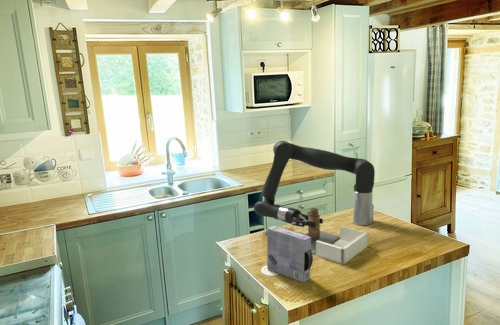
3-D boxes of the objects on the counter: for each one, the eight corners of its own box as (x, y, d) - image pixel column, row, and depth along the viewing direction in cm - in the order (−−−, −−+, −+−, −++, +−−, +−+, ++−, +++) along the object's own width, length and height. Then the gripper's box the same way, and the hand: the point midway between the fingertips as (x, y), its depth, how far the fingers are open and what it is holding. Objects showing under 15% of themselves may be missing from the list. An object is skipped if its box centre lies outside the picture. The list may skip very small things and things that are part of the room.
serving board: (314, 231, 186) (314, 229, 186) (339, 238, 176) (339, 236, 176) (287, 247, 170) (287, 244, 170) (313, 255, 161) (313, 253, 161)
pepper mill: (315, 234, 176) (315, 206, 173) (322, 238, 172) (322, 209, 169) (306, 237, 174) (305, 208, 171) (312, 241, 169) (312, 212, 166)
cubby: (341, 239, 175) (341, 225, 174) (367, 247, 166) (368, 232, 165) (316, 256, 160) (315, 241, 159) (343, 265, 151) (343, 249, 150)
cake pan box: (313, 279, 143) (313, 236, 139) (306, 284, 139) (305, 240, 135) (274, 264, 155) (272, 224, 151) (266, 269, 152) (264, 228, 148)
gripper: (279, 212, 175) (309, 220, 163) (297, 203, 185) (327, 210, 174) (280, 226, 177) (309, 236, 165) (298, 218, 187) (327, 226, 175)
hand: (318, 223), depth 169 cm, fingers closed on pepper mill, 5 cm apart
